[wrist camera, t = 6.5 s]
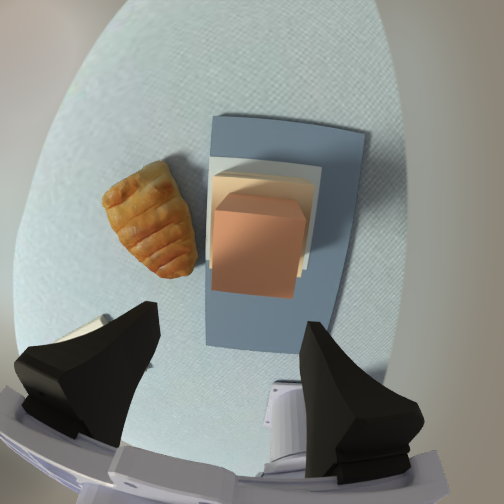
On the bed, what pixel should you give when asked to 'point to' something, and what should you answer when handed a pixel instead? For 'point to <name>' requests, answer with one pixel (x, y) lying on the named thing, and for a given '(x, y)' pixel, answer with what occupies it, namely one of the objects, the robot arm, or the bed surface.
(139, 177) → the pastry
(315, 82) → the bed surface
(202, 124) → the bed surface
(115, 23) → the bed surface
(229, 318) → the board
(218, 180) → the base block
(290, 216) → the top block
